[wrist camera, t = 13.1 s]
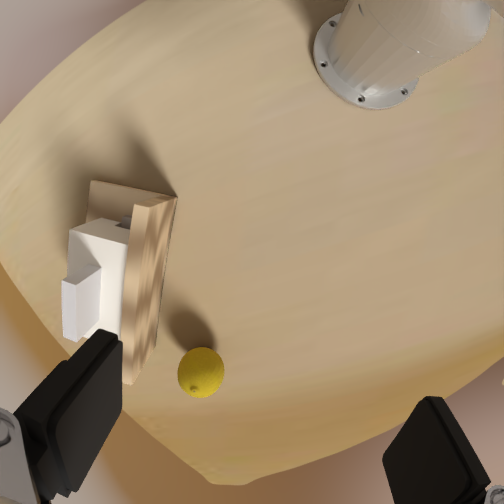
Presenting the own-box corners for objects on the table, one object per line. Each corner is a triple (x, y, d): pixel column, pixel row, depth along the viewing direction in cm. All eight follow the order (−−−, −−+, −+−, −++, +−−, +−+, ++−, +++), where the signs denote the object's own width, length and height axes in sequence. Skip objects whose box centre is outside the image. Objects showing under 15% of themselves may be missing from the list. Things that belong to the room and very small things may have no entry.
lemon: (236, 353, 40) (229, 392, 33) (211, 377, 42) (200, 416, 34) (202, 328, 40) (187, 363, 32) (178, 354, 41) (161, 390, 33)
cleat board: (95, 180, 35) (52, 186, 27) (177, 197, 36) (149, 207, 27) (85, 322, 41) (52, 354, 32) (155, 346, 41) (131, 385, 32)
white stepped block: (101, 217, 35) (39, 240, 24) (153, 230, 35) (104, 260, 24) (94, 306, 39) (45, 351, 27) (142, 322, 39) (101, 375, 27)
